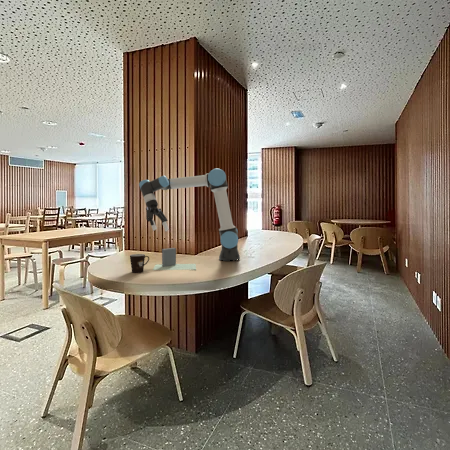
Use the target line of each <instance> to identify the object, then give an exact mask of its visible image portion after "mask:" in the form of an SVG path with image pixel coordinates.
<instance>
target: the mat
mask: <svg viewBox="0 0 450 450" xmlns="http://www.w3.org/2000/svg"><path fill="white" fill-rule="evenodd" d="M175 270H178V271H179V270H181V271H183V270H185V271H186V270H188V271H191V270H192V271H197V265H196V263H176V265H173V266H167V267H163V266H162V263H161V264H160V263H159V264H155V265H154V266H153V268H152V271H175Z"/></svg>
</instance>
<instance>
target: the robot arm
mask: <svg viewBox="0 0 450 450" xmlns="http://www.w3.org/2000/svg"><path fill="white" fill-rule="evenodd" d="M138 185H139V188H140V192H141V194H142V197H143V200H144V203H145V206H146V208H145V213H146V215H145V216H146V217H145V218H146V220H147V222H148V223H149V224H150V226H151V229H152V231H153V232H154V231H156V230H157V229H158V227H157V225H156V222H155V220H154V216H156V217H158V218H159V220H160V221H161V222H162V223H161V224H162V226H163V229H164V231H165V232H169V230H170V228H169V225H168V223H167V222H168V219H167V216H166V215H165V214H164V212H163V211H162V209H161V208H159V203H158V201H157V198H156V195H155V192H157V191H159V190H161V191H162V190H163V191H168V190H174V189H187V188H194V187H207V188H210V191H211V192H212V193H213V196H214V201H215V205H216V206H215V207H216V211H217V215H218V220H219V225H220V228H218V231H219V239H220V241H219V242H220V245H221V250H220V253H219V256H218V260H219V261H221V260H223V262H231V261H230V260H237V259H240V260H241V256H240V253H239V250H238V247H239V244H238V243H239V231H238V228H237V227H236V226H235V225H234V223H233V218H232V212H231V209H230V203H229V198H228V192H227V189H228V188H229V185H228V181H227V175H226V172H225V171H224V170H223V169H222V168H221V169H220V168H213V169H212V170H210V171H209V172H208V173H206V174H202V175H195V176H185V177H184V176H183V177H175V178H168V177H167V176H166V175H162V176H159V177H157V178H155V179H153V180H151V181H150V180H149V179H143V180H140V181H139V183H138Z"/></svg>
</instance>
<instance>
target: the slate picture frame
mask: <svg viewBox="0 0 450 450" xmlns="http://www.w3.org/2000/svg"><path fill="white" fill-rule="evenodd" d="M176 262H177V248H176V247H170V248H161V264H162V266H163V267H167V266H173V265H176V264H177V263H176Z"/></svg>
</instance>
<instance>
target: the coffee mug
mask: <svg viewBox="0 0 450 450" xmlns="http://www.w3.org/2000/svg"><path fill="white" fill-rule="evenodd" d="M146 258H147V261H146V262H145V260H146ZM129 260H130V266H131V267H130V268H131V273H133V274H141V273H144V267H145V265H147V264H148V263H149V261H150V256H148V255H146V254H145V253H144V254H143V253H134V254H129Z"/></svg>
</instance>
